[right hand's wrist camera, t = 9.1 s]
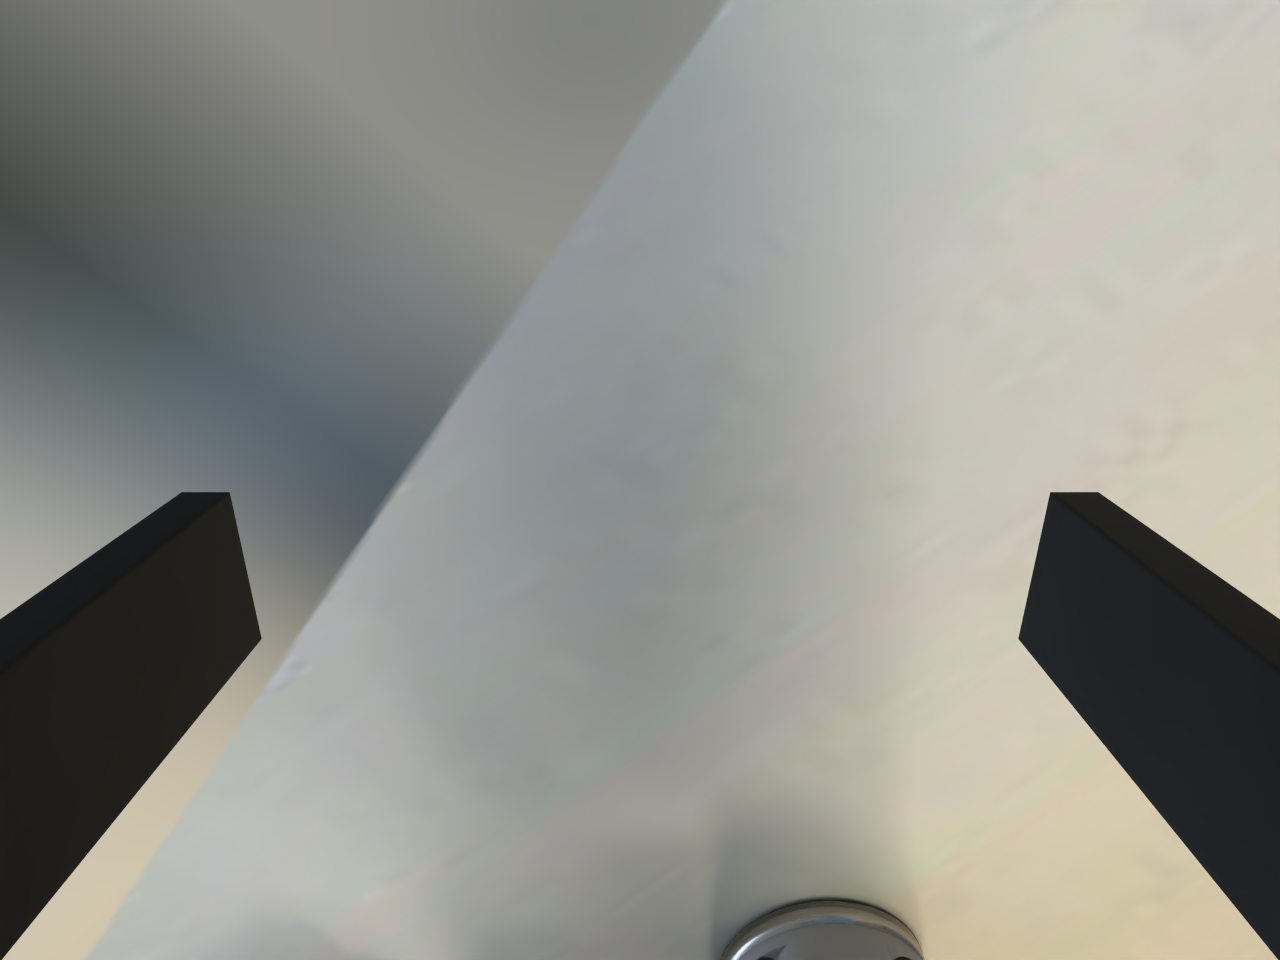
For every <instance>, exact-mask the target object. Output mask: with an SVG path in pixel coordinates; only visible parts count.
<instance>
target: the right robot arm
mask: <svg viewBox="0 0 1280 960" xmlns="http://www.w3.org/2000/svg"><path fill="white" fill-rule="evenodd" d="M260 640H261V634H260V630H259V625H258V620H257V616H256V611H255V607H254V602H253V597H252V593H251V588H250V584H249V579H248V575H247V570H246V565H245V561H244V556H243V552H242V547H241V542H240V538H239V533H238V529H237V524H236V519H235V515H234V510H233V506H232V501H231V496H230V493H229V492H182V493H180V494H179V495H177V496H176V497H174V498H173V499H171V500H170V501H169V502H167V503H166V504H164V505H163V506H162V507H160V508H159V509H157V510H156V511H154V512H153V513H152V514H150V515H149V516H147V517H146V518H144V519H143V520H142V521H140V522H139V523H137V524H136V525H134V526H133V527H132V528H130V529H129V530H127V531H126V532H124V533H123V534H122V535H120V536H119V537H117V538H116V539H114V540H113V541H112V542H110V543H109V544H107V545H106V546H104V547H103V548H102V549H100V550H99V551H97V552H96V553H94V554H93V555H92V556H90V557H89V558H87V559H86V560H84V561H83V562H82V563H80V564H79V565H77V566H76V567H74V568H73V569H72V570H70V571H69V572H67V573H66V574H64V575H63V576H62V577H60V578H59V579H57V580H56V581H54V582H53V583H52V584H50V585H49V586H47V587H46V588H44V589H43V590H42V591H40V592H39V593H37V594H36V595H34V596H33V597H32V598H30V599H29V600H27V601H26V602H24V603H23V604H22V605H20V606H19V607H17V608H16V609H14V610H13V611H12V612H10V613H9V614H7V615H6V616H4V617H3V618H2V619H0V960H2V959H3V957H4V956H5V955H6V954H7V953H8V951H9V950H10V949H11V948H12V946H13V945H14V944H15V943H16V941H17V940H18V939H19V938H20V936H21V935H22V934H23V933H24V932H25V930H26V929H27V928H28V927H29V925H30V924H31V923H32V922H33V920H34V919H35V918H36V917H37V915H38V914H39V913H40V912H41V911H42V909H43V908H44V907H45V906H46V904H47V903H48V902H49V901H50V899H51V898H52V897H53V896H54V894H55V893H56V892H57V891H58V890H59V888H60V887H61V886H62V885H63V883H64V882H65V881H66V880H67V878H68V877H69V876H70V875H71V873H72V872H73V871H74V870H75V869H76V867H77V866H78V865H79V864H80V862H81V861H82V860H83V859H84V857H85V856H86V855H87V854H88V852H89V851H90V850H91V849H92V848H93V846H94V845H95V844H96V843H97V841H98V840H99V839H100V838H101V836H102V835H103V834H104V833H105V831H106V830H107V829H108V828H109V827H110V825H111V824H112V823H113V822H114V820H115V819H116V818H117V817H118V815H119V814H120V813H121V812H122V811H123V809H124V808H125V807H126V806H127V804H128V803H129V802H130V801H131V799H132V798H133V797H134V796H135V794H136V793H137V792H138V791H139V790H140V788H141V787H142V786H143V785H144V783H145V782H146V781H147V780H148V778H149V777H150V776H151V775H152V773H153V772H154V771H155V770H156V769H157V767H158V766H159V765H160V764H161V762H162V761H163V760H164V759H165V757H166V756H167V755H168V754H169V752H170V751H171V750H172V749H173V747H174V746H175V745H176V744H177V743H178V741H179V740H180V739H181V738H182V736H183V735H184V734H185V733H186V731H187V730H188V729H189V728H190V727H191V725H192V724H193V723H194V721H195V720H196V719H197V718H198V717H199V715H200V714H201V713H202V712H203V710H204V709H205V708H206V707H207V706H208V704H209V703H210V702H211V701H212V699H213V698H214V697H215V696H216V694H217V693H218V692H219V691H220V689H221V688H222V687H223V686H224V685H225V683H226V682H227V681H228V680H229V678H230V677H231V676H232V675H233V673H234V672H235V671H236V670H237V668H238V667H239V666H240V665H241V664H242V662H243V661H244V660H245V659H246V657H247V656H248V655H249V654H250V652H251V651H252V650H253V649H254V648H255V646H256V645H257V644H258V643H259V641H260ZM1019 640H1020V641H1021V643H1022V644H1023V645H1024V646H1025V648H1026V649H1027V650H1028V651H1029V652H1030V654H1031V655H1032V656H1033V657H1034V659H1035V660H1036V661H1037V662H1038V664H1039V665H1040V666H1041V667H1042V669H1043V670H1044V671H1045V672H1046V673H1047V675H1048V676H1049V677H1050V678H1051V680H1052V681H1053V682H1054V683H1055V685H1056V686H1057V687H1058V688H1059V690H1060V691H1061V692H1062V693H1063V694H1064V696H1065V697H1066V698H1067V699H1068V701H1069V702H1070V703H1071V704H1072V706H1073V707H1074V708H1075V709H1076V710H1077V712H1078V713H1079V714H1080V715H1081V717H1082V718H1083V719H1084V720H1085V722H1086V723H1087V724H1088V725H1089V727H1090V728H1091V729H1092V730H1093V731H1094V733H1095V734H1096V735H1097V736H1098V738H1099V739H1100V740H1101V741H1102V743H1103V744H1104V745H1105V746H1106V748H1107V749H1108V750H1109V751H1110V752H1111V754H1112V755H1113V756H1114V757H1115V759H1116V760H1117V761H1118V762H1119V764H1120V765H1121V766H1122V767H1123V769H1124V770H1125V771H1126V772H1127V773H1128V775H1129V776H1130V777H1131V778H1132V780H1133V781H1134V782H1135V783H1136V785H1137V786H1138V787H1139V788H1140V790H1141V791H1142V792H1143V793H1144V794H1145V796H1146V797H1147V798H1148V799H1149V801H1150V802H1151V803H1152V804H1153V806H1154V807H1155V808H1156V809H1157V811H1158V812H1159V813H1160V814H1161V815H1162V817H1163V818H1164V819H1165V820H1166V822H1167V823H1168V824H1169V825H1170V827H1171V828H1172V829H1173V830H1174V832H1175V833H1176V834H1177V835H1178V836H1179V838H1180V839H1181V840H1182V841H1183V843H1184V844H1185V845H1186V846H1187V848H1188V849H1189V850H1190V851H1191V853H1192V854H1193V855H1194V856H1195V857H1196V859H1197V860H1198V861H1199V862H1200V864H1201V865H1202V866H1203V867H1204V869H1205V870H1206V871H1207V872H1208V874H1209V875H1210V876H1211V877H1212V878H1213V880H1214V881H1215V882H1216V883H1217V885H1218V886H1219V887H1220V888H1221V890H1222V891H1223V892H1224V893H1225V894H1226V896H1227V897H1228V898H1229V899H1230V901H1231V902H1232V903H1233V904H1234V906H1235V907H1236V908H1237V909H1238V911H1239V912H1240V913H1241V914H1242V915H1243V917H1244V918H1245V919H1246V920H1247V922H1248V923H1249V924H1250V925H1251V927H1252V928H1253V929H1254V930H1255V932H1256V933H1257V934H1258V935H1259V936H1260V938H1261V939H1262V940H1263V941H1264V943H1265V944H1266V945H1267V946H1268V948H1269V949H1270V950H1271V951H1272V953H1273V954H1274V955H1275V956H1276V957H1277V959H1278V960H1280V619H1278V618H1277V617H1276V616H1274V615H1273V614H1271V613H1270V612H1268V611H1267V610H1266V609H1264V608H1263V607H1261V606H1260V605H1258V604H1257V603H1256V602H1254V601H1253V600H1251V599H1250V598H1248V597H1247V596H1246V595H1244V594H1243V593H1241V592H1240V591H1238V590H1237V589H1236V588H1234V587H1233V586H1231V585H1230V584H1228V583H1227V582H1226V581H1224V580H1223V579H1221V578H1220V577H1218V576H1217V575H1216V574H1214V573H1213V572H1211V571H1210V570H1208V569H1207V568H1206V567H1204V566H1203V565H1201V564H1200V563H1198V562H1197V561H1196V560H1194V559H1193V558H1191V557H1190V556H1188V555H1187V554H1186V553H1184V552H1183V551H1181V550H1180V549H1178V548H1177V547H1176V546H1174V545H1173V544H1171V543H1170V542H1168V541H1167V540H1166V539H1164V538H1163V537H1161V536H1160V535H1158V534H1157V533H1156V532H1154V531H1153V530H1151V529H1150V528H1148V527H1147V526H1146V525H1144V524H1143V523H1141V522H1140V521H1138V520H1137V519H1136V518H1134V517H1133V516H1131V515H1130V514H1128V513H1127V512H1126V511H1124V510H1123V509H1121V508H1120V507H1118V506H1117V505H1116V504H1114V503H1113V502H1111V501H1110V500H1109V499H1107V498H1106V497H1104V496H1103V495H1101V494H1100V493H1099V492H1050V496H1049V501H1048V506H1047V510H1046V515H1045V519H1044V524H1043V529H1042V533H1041V538H1040V542H1039V547H1038V552H1037V556H1036V561H1035V565H1034V570H1033V574H1032V579H1031V584H1030V588H1029V593H1028V597H1027V602H1026V607H1025V611H1024V616H1023V620H1022V625H1021V630H1020V634H1019ZM720 960H925V959H924V956H923V953H922V951H921V948H920V946H919V944H918V941H917V940H916V938H915V937H914V935H913V934H912V933H911V932H910V930H909V929H908V928H907V927H906V926H904V925H903V924H902V923H901V922H900V921H898V920H897V919H895V918H894V917H892V916H890V915H889V914H887V913H885V912H882V911H880V910H878V909H875V908H872V907H869V906H866V905H862V904H857V903H852V902H843V901H815V902H807V903H801V904H796V905H792V906H788V907H785V908H782V909H779V910H776V911H774V912H771V913H769V914H767V915H765V916H763V917H761V918H759V919H757V920H756V921H754V922H752V923H751V924H750V925H748V926H747V927H745V928H744V929H743V930H742V931H741V932H740V933H738V934H737V935H736V936H735V938H734V939H733V940H732V941H731V942H730V944H729V945H728V946H727V948H726V949H725V951H724V953H723V955H722V957H721V959H720Z"/></svg>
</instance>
